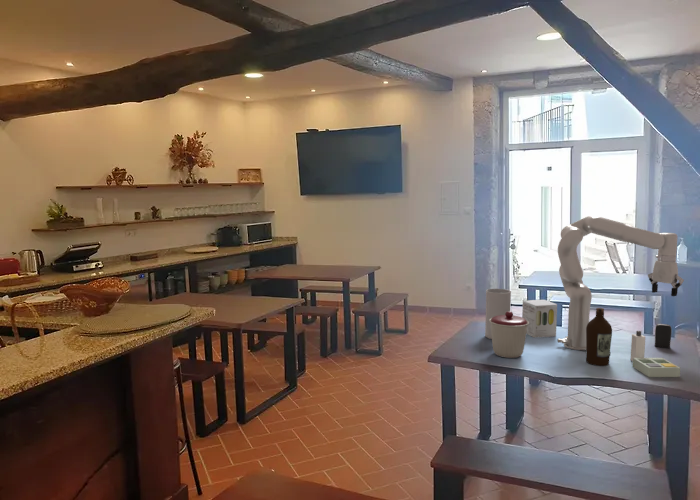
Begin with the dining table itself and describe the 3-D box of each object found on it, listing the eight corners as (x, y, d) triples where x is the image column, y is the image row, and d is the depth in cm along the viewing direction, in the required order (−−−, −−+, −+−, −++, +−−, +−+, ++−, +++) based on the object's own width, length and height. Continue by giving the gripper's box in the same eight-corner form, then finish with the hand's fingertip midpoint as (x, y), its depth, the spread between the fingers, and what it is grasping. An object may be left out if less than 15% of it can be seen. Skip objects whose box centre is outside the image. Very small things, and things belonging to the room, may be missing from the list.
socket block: (648, 377, 224) (649, 367, 224) (632, 366, 237) (633, 357, 237) (679, 376, 224) (680, 366, 224) (661, 366, 237) (662, 357, 237)
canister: (486, 358, 249) (487, 314, 247) (490, 347, 266) (491, 306, 264) (527, 362, 243) (528, 317, 241) (528, 351, 260) (530, 308, 258)
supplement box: (534, 338, 283) (535, 305, 281) (521, 331, 295) (522, 300, 293) (556, 336, 285) (558, 304, 283) (543, 330, 298) (544, 299, 296)
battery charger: (670, 346, 266) (671, 324, 265) (670, 348, 263) (672, 325, 262) (653, 344, 270) (655, 322, 268) (654, 346, 266) (655, 324, 265)
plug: (635, 362, 243) (636, 332, 241) (630, 359, 246) (632, 330, 245) (643, 362, 242) (645, 332, 241) (639, 359, 246) (640, 330, 245)
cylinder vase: (512, 340, 278) (513, 293, 275) (488, 340, 278) (489, 293, 275) (505, 333, 291) (507, 288, 288) (482, 334, 291) (483, 288, 288)
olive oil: (579, 359, 247) (582, 306, 244) (599, 358, 249) (602, 305, 246) (595, 367, 236) (597, 311, 233) (615, 365, 239) (618, 310, 236)
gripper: (644, 257, 261) (642, 291, 263) (679, 261, 246) (676, 298, 248) (654, 256, 264) (652, 290, 266) (689, 260, 249) (686, 296, 251)
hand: (664, 294), depth 257 cm, fingers open, 9 cm apart
